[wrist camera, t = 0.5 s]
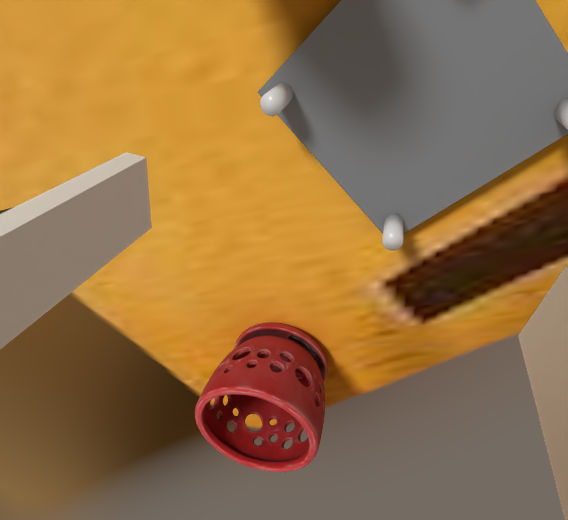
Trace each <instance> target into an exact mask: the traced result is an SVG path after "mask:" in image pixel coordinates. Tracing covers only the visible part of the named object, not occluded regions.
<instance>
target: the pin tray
mask: <svg viewBox="0 0 568 520" xmlns="http://www.w3.org/2000/svg"><path fill="white" fill-rule="evenodd" d="M258 93H259V94H260V96H261V97H262V98H261V101H260V105H261V109H262V110H263V112H264V113H265V114H267V115H269V116H275V115H278V116H279V117H280V118H281V119H282V120H283V122H284V123H285V124H286V125H287V126H288V127H289V128H290V129H291V131H292V132H293V133H294V134H295V135H296V136H297V137H298V138H299V140H300V141H301V142H302V143H303V144H304V145H305V146H306V147H307V149H308V150H309V151H310V152H311V153H312V154H313V155H314V157H315V158H316V159H317V160H318V161H319V162H320V163H321V164H322V166H323V167H324V168H325V169H326V170H327V171H328V172H329V173H330V175H331V176H332V177H333V178H334V179H335V180H336V181H337V182H338V184H339V185H340V186H341V187H342V188H343V189H344V190H345V192H346V193H347V194H348V195H349V196H350V197H351V198H352V199H353V201H354V202H355V203H356V204H357V205H358V206H359V207H360V208H361V210H362V211H363V212H364V213H365V214H366V215H367V216H368V217H369V219H370V220H371V221H372V222H373V223H374V224H375V225H376V227H377V228H378V229H379V230H380V231H381V232H382V233H383V240H382V243H383V246H384V247H385V248H386V249H388V250H397V249H399V248H400V247H401V246H402V245H403V234H404V233H406V232H407V231H409V230H410V229H412V228H414V227H415V226H417V225H419V224H420V223H422V222H424V221H425V220H427V219H429V218H430V217H432V216H434V215H435V214H437V213H438V212H440V211H442V210H443V209H445V208H447V207H448V206H450V205H452V204H453V203H455V202H457V201H458V200H460V199H462V198H463V197H465V196H466V195H468V194H470V193H471V192H473V191H475V190H476V189H478V188H480V187H481V186H483V185H485V184H486V183H488V182H490V181H491V180H493V179H494V178H496V177H498V176H499V175H501V174H503V173H504V172H506V171H508V170H509V169H511V168H513V167H514V166H516V165H517V164H519V163H521V162H522V161H524V160H526V159H527V158H529V157H531V156H532V155H534V154H536V153H537V152H539V151H541V150H542V149H544V148H545V147H547V146H549V145H550V144H552V143H554V142H555V141H557V140H559V139H560V138H562V137H564V136H565V135H567V134H568V53H567V51H566V50H565V48H564V47H563V45H562V43H561V42H560V40H559V38H558V37H557V35H556V33H555V32H554V30H553V29H552V27H551V25H550V24H549V22H548V20H547V19H546V17H545V15H544V14H543V12H542V10H541V9H540V7H539V6H538V4H537V2H536V1H535V0H341V1H340V2H339V3H338V4H337V5H336V6H335V7H334V9H333V10H332V11H331V12H330V13H329V14H328V15H327V16H326V17H325V19H324V20H323V21H322V22H321V23H320V24H319V25H318V26H317V27H316V28H315V30H314V31H313V32H312V33H311V34H310V35H309V36H308V37H307V38H306V39H305V41H304V42H303V43H302V44H301V45H300V46H299V47H298V48H297V49H296V50H295V52H294V53H293V54H292V55H291V56H290V57H289V58H288V59H287V60H286V61H285V63H284V64H283V65H282V66H281V67H280V68H279V69H278V70H277V71H276V72H275V74H274V75H273V76H272V77H271V78H270V79H269V80H268V81H267V82H266V84H265V85H264V86H263V87H262V88H261V89H260V90H259V91H258Z"/></svg>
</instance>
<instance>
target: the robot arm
mask: <svg viewBox="0 0 568 520" xmlns="http://www.w3.org/2000/svg"><path fill="white" fill-rule="evenodd" d="M150 228H151V215H150V202H149V189H148V176H147V164H146V157H142V156H138V155H135V154H131V153H127V152H126V153H124V154H122V155H120V156H117V157H115V158H113V159H111V160H109V161H107V162H105V163H103V164H101V165H99V166H97V167H95V168H93V169H91V170H89V171H87V172H85V173H83V174H81V175H79V176H77V177H75V178H73V179H71V180H69V181H67V182H65V183H63V184H61V185H58V186H56V187H54V188H52V189H50V190H48V191H46V192H44V193H42V194H40V195H38V196H36V197H34V198H32V199H30V200H28V201H26V202H24V203H22V204H20V205H18V206H16V207H13V208H9V209H5V210H2V211H0V349H1V348H3V347H4V346H5V345H6V344H7V343H8V342H10V341H11V340H12V339H14V338H15V337H16V336H17V335H19V334H20V333H21V332H22V331H24V330H25V329H26V328H27V327H29V326H30V325H31V324H32V323H34V322H35V321H36V320H37V319H39V318H40V317H41V316H42V315H44V314H45V313H46V312H47V311H48V310H50V309H51V308H52V307H54V306H55V305H56V304H57V303H58V302H60V301H61V300H62V299H63V298H65V297H66V296H67V295H68V294H70V293H71V292H72V291H73V290H75V289H76V288H77V287H78V286H80V285H81V284H82V283H83V282H85V281H86V280H87V279H88V278H90V277H91V276H92V275H93V274H95V273H96V272H97V271H98V270H100V269H101V268H102V267H103V266H104V265H106V264H107V263H108V262H109V261H111V260H112V259H113V258H114V257H116V256H117V255H118V254H119V253H121V252H122V251H123V250H124V249H126V248H127V247H128V246H129V245H131V244H132V243H133V242H134V241H136V240H137V239H138V238H139V237H141V236H142V235H143V234H144V233H146V232H147V231H148V230H149V229H150ZM518 337H519V341H520V345H521V349H522V353H523V357H524V361H525V365H526V369H527V373H528V376H529V381H530V384H531V388H532V392H533V396H534V400H535V404H536V408H537V412H538V416H539V419H540V424H541V427H542V431H543V435H544V439H545V443H546V447H547V451H548V455H549V459H550V463H551V467H552V470H553V474H554V478H555V482H556V486H557V490H558V494H559V498H560V502H561V506H562V509H563V514H564V517H565V520H568V267H565V268H564V269H563V271H562V272H561V274H560V275H559V277H558V278H557V280H556V281H555V283H554V284H553V285H552V287H551V288H550V290H549V291H548V293H547V294H546V296H545V297H544V299H543V300H542V302H541V303H540V305H539V306H538V308H537V309H536V310H535V312H534V313H533V315H532V316H531V318H530V319H529V321H528V322H527V324H526V325H525V327H524V328H523V330H522V331H521V332H520V334H519V335H518Z"/></svg>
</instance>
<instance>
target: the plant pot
mask: <svg viewBox="0 0 568 520" xmlns="http://www.w3.org/2000/svg"><path fill="white" fill-rule="evenodd" d="M326 376H327V360H326V357H325V355H324V353H323V351H322V349H321V348H320V346H319V345H318V344H317V343H316V342H315V341H314V340H313V339H312V338H311V337H310V336H309V335H307V334H306V333H304V332H303V331H301V330H299V329H297V328H295V327H292V326H289V325H286V324H281V323H262V324H257V325H254V326H252V327H250V328H248V329H247V330H245V331H244V332H243V333H242V334H241V335H240V337H239V338H238V340H237V342H236V345H235V349H234V350H233V351H232V352H230V353H229V354H228V355H227V356H226V358H225V359H224V360H223V361H222V362H221V363H220V365H219V366H218V367H217V369H216V370H215V372H214V373H213V375H212V376H211V378H210V379H209V381H208V383H207V385H206V387H205V388H204V390H203V392H202V394H201V396H200V398H199V400H198V403H197V405H196V409H195V418H196V423H197V425H198V427H199V429H200V431H201V433H202V435H203V436H204V437H205V438H206V440H207V441H208V442H209V443H210V444H211V445H212V446H214V447H215V448H216V449H217V450H218V451H219V452H221V453H222V454H224V455H225V456H227V457H228V458H230V459H232V460H234V461H236V462H238V463H240V464H243V465H245V466H248V467H251V468H255V469H259V470H264V471H272V472H287V471H293V470H297V469H300V468H302V467H304V466H306V465H307V464H309V463H310V462H311V461H312V460H313V459H314V457H315V456H316V454H317V451H318V448H319V444H320V439H321V434H322V428H323V422H324V413H325V391H324V384H323V382H324V381H325V379H326ZM225 395H227V397H228V403H227V405H226V406H224V404H223V398H224V396H225ZM213 398H215V401H214V404H213V407H212V408H211V409H210V407H209V404H210V401H211V400H212V399H213ZM234 408H237V409H238V411H239V414H238V416H234V415H233V409H234ZM218 411H219V413H220V418H219V419H217V417H216V414H217V412H218ZM249 414H256V415H258V416H259V417H260V418H261V420H262V424H263V425H262V427H261V429H260V430H259V431H251V430H249V429H248V428H247V427H246V424H245V419H246V417H247V416H248V415H249ZM271 419H276V420H277V424H276V425H273V426H272V425H270V424H269V422H270V420H271ZM228 421H232V422H233V424H234V426H235V430H234V431H233V432H230V431H229V430H228V429H227V422H228ZM292 422H293V423H295V427H294V430H293V431H291V432H286V427H287V425H288V424H289V423H292ZM304 429H305V431H306V433H307V435H308V438H307V440H306V441H304V442H301V441H300V436H301V433H302V431H303V430H304ZM274 435H276V436H278V439H277V440H276V441H275V442H271V441H270V438H271V437H272V436H274ZM256 438H260V439H261V440H262V444H261V445H259V446H257V445H255V444H254V440H255V439H256ZM287 440H293V444H292V446H291V447H290V448H288V449H284V444H285V442H286V441H287Z"/></svg>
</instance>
